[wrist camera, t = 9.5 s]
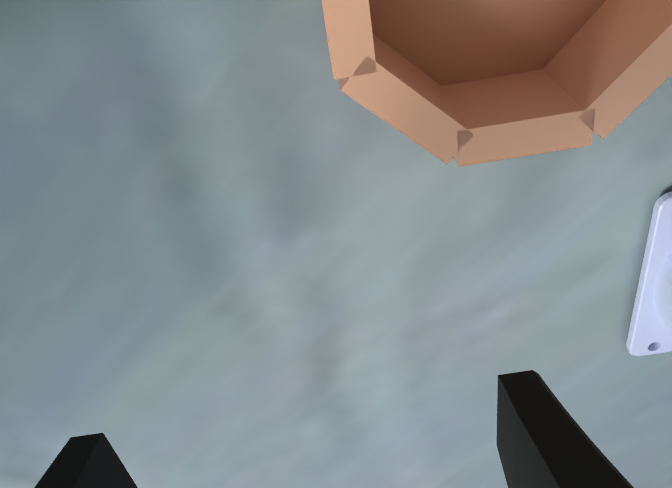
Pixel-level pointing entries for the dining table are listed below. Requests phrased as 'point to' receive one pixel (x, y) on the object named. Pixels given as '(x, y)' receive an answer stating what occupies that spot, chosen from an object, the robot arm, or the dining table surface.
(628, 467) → the dining table surface
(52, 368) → the dining table surface
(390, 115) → the bowl
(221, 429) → the dining table surface
